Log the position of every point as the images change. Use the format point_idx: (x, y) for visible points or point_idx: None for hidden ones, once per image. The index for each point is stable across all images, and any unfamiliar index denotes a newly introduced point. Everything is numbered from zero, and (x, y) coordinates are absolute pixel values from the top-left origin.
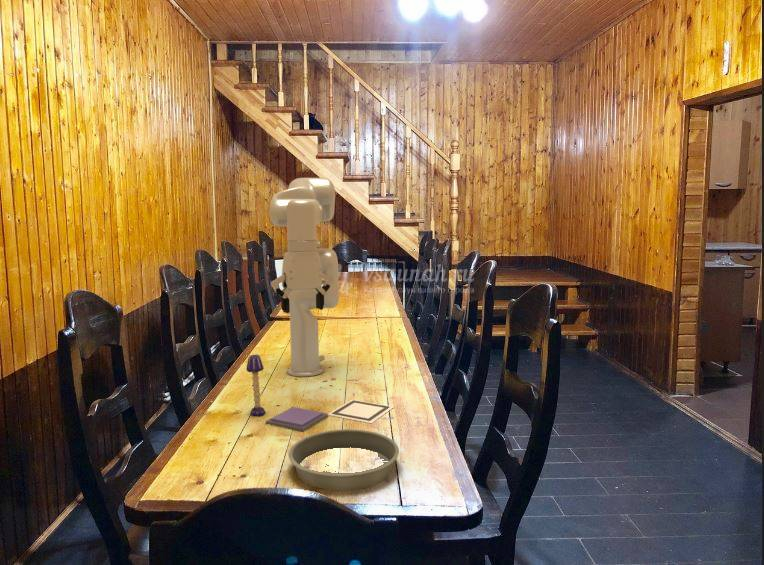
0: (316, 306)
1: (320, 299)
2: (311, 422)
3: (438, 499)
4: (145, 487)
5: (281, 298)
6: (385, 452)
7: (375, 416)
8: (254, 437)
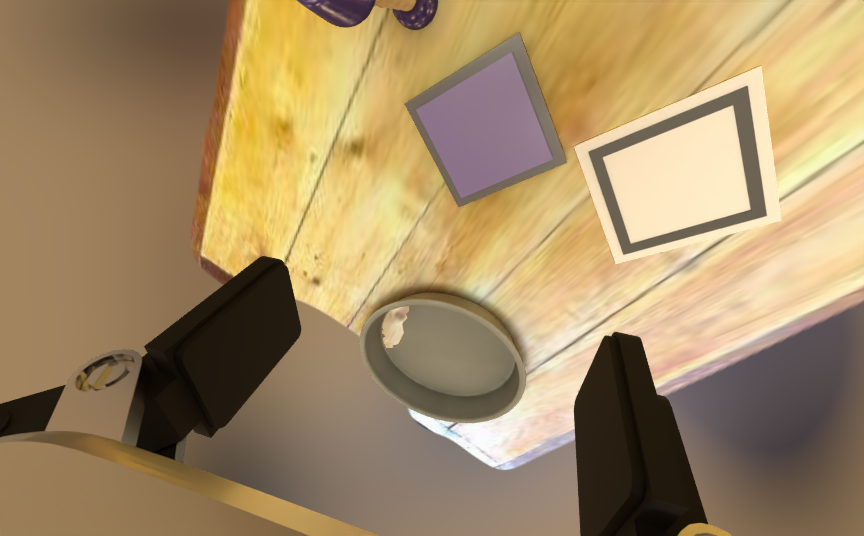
0: (605, 350)
1: (580, 505)
2: (494, 186)
3: (487, 445)
4: (200, 229)
5: (148, 365)
6: (515, 371)
7: (658, 245)
8: (362, 165)
